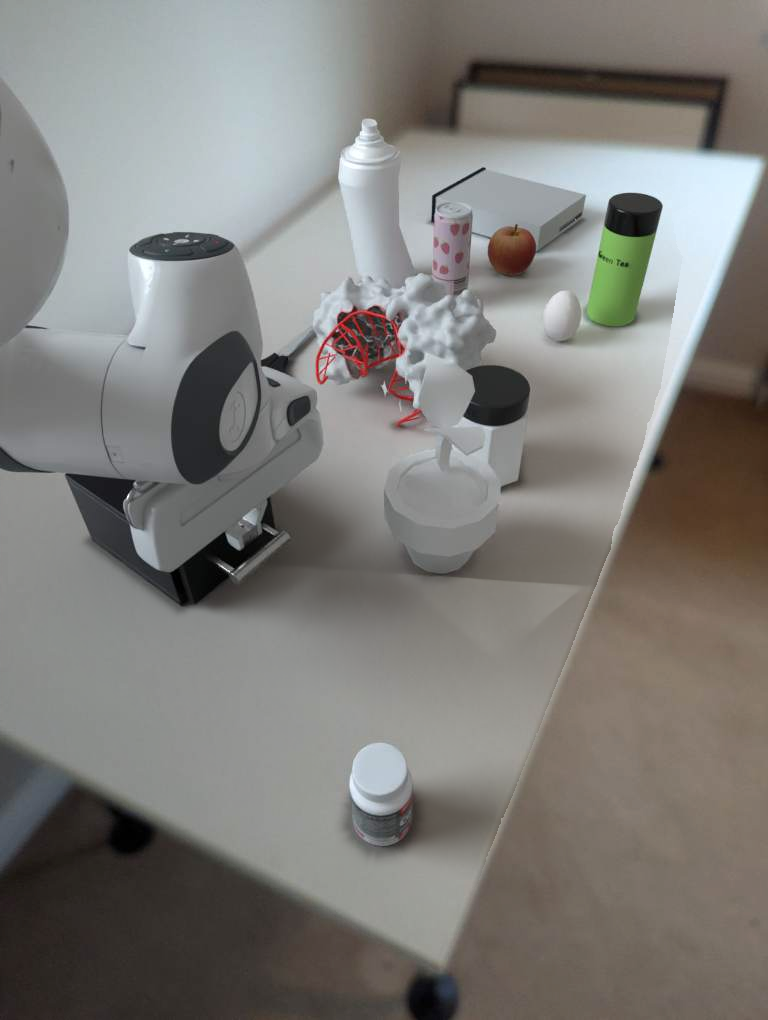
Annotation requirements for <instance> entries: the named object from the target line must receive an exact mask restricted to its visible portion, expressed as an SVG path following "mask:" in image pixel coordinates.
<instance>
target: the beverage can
mask: <svg viewBox="0 0 768 1020" xmlns="http://www.w3.org/2000/svg"><path fill="white" fill-rule="evenodd" d="M435 211H436V212H435V214H434V222H433V238H432V239H433V241H432V262H431V263H432V265H431V277H432V278H433V280H435V281H438V282H442V283H443V284H444V285H445V291H446V293H447V295H452V296H455V295H457V296H458V295H459V294H462V292H463V291H464V290H466V289H467V290H469V277H470V276H469V275H470V261H471V248H472V233H473V232H472V221H473V214H472V208H471V207H470V206H469V205H467V204H465V203H462V202H445V203H442V204H440V205H438V206H437V208H436V210H435Z"/></svg>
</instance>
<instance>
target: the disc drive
mask: <svg viewBox="0 0 768 1020" xmlns="http://www.w3.org/2000/svg"><path fill="white" fill-rule="evenodd" d="M586 197H587V194H585V193H581V192H576V191H573V190H569V189H565V188H561V187H557V186H553V185H550V184H545V183H541V182H537V181H533V180H529V179H526V178H521V177H516V176H514V175H509V174H505V173H501V172H497V171H493V170H490V169H487V168H486V167H484V166H482V167H481V168H479V169H477V170H475V171H474V172H471V173H470V174H468V175H466V176H465V177H463V178H461V179H459V180H457V181H455V182H453V183H451V184H449V185H448V186H446V187H445V188H443V189H441V190H439V191H437V192H436V193H434V194H432V196H431V219H430V220H431V221H430V222H431V223H434V214H435V212H436V211H435V210H436V208H437V206H438V205H440V204H442V203H445V202H462V203H465V204H467V205H469V206H470V207H471V208H472V214H473V221H472V233H474V234H476V235H477V234H478V235H481V236H483V237H487V238H490V239H491V237H492V236H493V234H494V233H495V232H496V231H497V230H499V229H500V228H503V227H507V226H509V227H515V224H518V226H517V227H518V228H523V229H526V230H528V231H529V232H530V233H531V234H532V236H533V237H534V239H535V242H536V252H538V251H540V250H541V249H543V248H544V247H545V246H546V245H548V244H550V243H551V242H552V241H553V240H555V239H556V238H557V237H559V236H561V235H562V234H563V233H564V232H566V231H567V230H569V229H570V228H571V227H573V226H574V225H575V224H577V223H578V222H580V221H581V220H582V219H583V214H584V209H585V204H586ZM575 219H576V220H575Z"/></svg>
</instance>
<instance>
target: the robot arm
mask: <svg viewBox="0 0 768 1020" xmlns="http://www.w3.org/2000/svg"><path fill="white" fill-rule="evenodd" d="M69 209H70V208H69V197H68V192H67V188H66V184H65V181H64V178H63V175H62V172H61V170H60V168H59V166H58V162H57V160H56V158H55V156H54V153H53V151H52V150H51V148H50V145H49V144H48V141H47V140H46V138H45V136H44V134H43V133H42V131H41V129H40V128H39V126H38V125H37V123H36V122H35V120H34V118H33V116H32V115H31V114H30V113H29V111H28V110H27V109H26V107H25V106H24V105H23V102H21V100H20V99H19V98H18V96H17V95H16V94H15V93H14V91H13V90H12V89H11V87H10V86H9V85H8V83H6V81H5V80H4V79H3V78H2V77H1V75H0V470H3V471H6V472H11V473H36V474H37V473H38V474H39V473H40V474H52V473H59V474H60V473H62V474H66V473H70V474H80V475H90V476H99V477H109V478H119V479H130V480H136V481H135V482H134V483H133V486H134V488H133V489H132V490H131V491H130V492H129V494H128V496H127V498H126V499H125V500H124V502H123V508H124V511H125V514H126V517H127V519H128V521H129V524H130V528H131V533H132V538H133V542H134V546H135V549H136V552H137V554H138V555H139V556H140V557H141V558H142V559H143V560H144V561H145V562H147V563H148V564H149V565H151V566H152V567H154V568H155V569H157V570H160V571H164V572H172V571H174V570H175V569H177V568H178V567H179V566H180V565H182V564H183V563H184V562H186V561H187V560H188V559H189V558H191V557H192V556H193V555H195V554H196V553H197V552H198V551H200V550H201V549H202V548H204V547H205V546H206V545H208V544H209V543H210V542H211V541H213V540H214V539H215V538H217V537H218V536H219V535H220V534H222V533H223V532H225V533H226V536H227V540H228V542H229V544H230V545H231V546H233V547H234V548H236V549H238V550H241V549H242V548H244V547H245V546H246V545H247V544H248V543H249V542H251V541H252V540H253V539H255V538H256V537H257V536H258V535H260V534H261V533H262V528H261V523H260V521H261V520H262V517H263V514H264V511H265V509H266V506H267V498H268V497H269V496H270V497H271V496H272V495H273V494H275V493H276V492H278V491H279V490H281V488H283V487H284V486H285V485H286V484H288V483H289V482H290V481H291V480H293V479H294V478H295V477H297V476H298V475H299V474H300V473H302V472H303V471H305V470H306V469H307V468H308V467H310V466H311V465H312V464H313V463H315V462H316V461H317V460H318V459H319V457H320V456H321V454H322V451H323V449H324V431H323V424H322V418H321V414H320V411H319V410H318V409H317V405H318V392H317V390H316V389H314V388H313V387H311V386H309V385H308V384H306V383H305V382H303V381H301V380H299V379H297V378H295V377H293V376H291V375H289V374H287V373H285V372H284V373H282V372H280V371H277V370H274V369H272V368H269V367H261V360H262V357H263V356H262V355H263V351H264V349H263V347H264V343H263V336H262V328H261V323H260V318H259V313H258V308H257V304H256V298H255V294H254V291H253V287H252V284H251V280H250V276H249V274H248V270H247V267H246V264H245V262H244V259H243V257H242V254H241V252H240V250H239V249H238V247H237V246H236V244H235V243H234V242H233V241H231V240H229V239H227V238H225V237H222V236H220V235H218V234H213V233H204V232H192V231H173V232H166V233H157V234H153V235H150V236H147V237H144V238H142V239H140V240H139V241H137V242H136V243H134V244H133V245H131V246H130V247H129V248H128V251H127V257H126V258H127V261H126V262H127V273H128V283H129V289H130V296H131V301H132V307H133V312H134V319H135V322H134V324H133V328H132V330H131V331H130V333H129V334H115V333H102V332H91V331H90V332H88V331H79V330H78V331H77V330H64V329H51V328H47V327H43V326H37V325H29V324H30V323H31V322H32V320H33V319H34V318H35V317H36V316H37V314H38V313H39V312H40V311H41V309H42V308H43V306H44V305H45V304H46V302H47V301H48V299H49V297H50V296H51V294H52V292H53V290H54V288H55V286H56V284H57V282H58V280H59V277H60V275H61V273H62V270H63V268H64V263H65V260H66V256H67V251H68V245H69V235H70V211H69ZM238 520H239V521H238Z"/></svg>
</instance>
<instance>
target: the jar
mask: <svg viewBox="0 0 768 1020" xmlns="http://www.w3.org/2000/svg"><path fill="white" fill-rule="evenodd" d="M466 372H467V373H469V374H470V375H472V378H473V383H474V388H475V393H474V395H473V397H472V399H471V401H470V403H469V405H468V407H467V409H466V411H465V413H464V415H463V416H462V418H461V420H460V422H459V423H458V425H455V426H452V427H482V428H483V430H484V432H485V440H484V445H483V448H481V449H480V450H478V451H476V452H474V453H472V454H470V455H472V456H474V457H476V458H478V459H480V460H482V461H484V462H486V463H488V464H489V466H490V467H491V468H492V470H493V471H494V473H495V474H496V476H497V477H498V479H499V480H500V482H501V487H504V486H506V485H509V484H512V483H515V482H517V481H518V480H519V477H520V476H519V475H520V469H521V463H522V456H523V449H524V444H525V437H526V431H527V425H528V408H529V402H530V397H531V385H530V382H529V380H528V379H527V378H526V377H525V376H524V375H523V374H522V373H520V372H519V371H517V370H515V369H513V368H510V367H507V366H503V365H498V364H497V365H495V364H485V365H484V364H482V366H477V367H473V368H471V369H468V370H466ZM451 450H455V451H460V450H459V449H458V448H456V447H455V446H454V445H453V444H452V447H451Z"/></svg>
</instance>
